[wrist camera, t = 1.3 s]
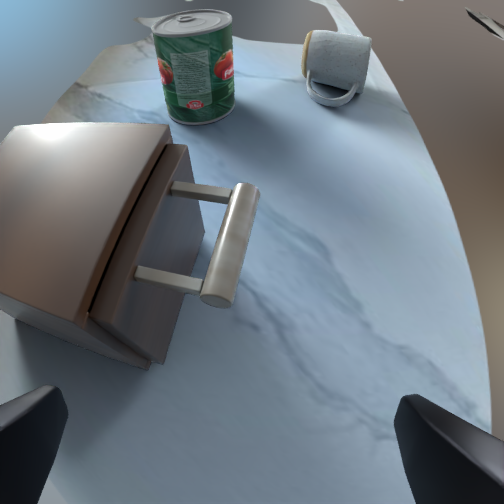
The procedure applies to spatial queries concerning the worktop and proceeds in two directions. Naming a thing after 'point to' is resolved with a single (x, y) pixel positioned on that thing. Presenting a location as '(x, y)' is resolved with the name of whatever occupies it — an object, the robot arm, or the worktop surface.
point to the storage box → (69, 221)
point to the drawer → (170, 255)
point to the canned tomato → (196, 65)
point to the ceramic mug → (335, 63)
